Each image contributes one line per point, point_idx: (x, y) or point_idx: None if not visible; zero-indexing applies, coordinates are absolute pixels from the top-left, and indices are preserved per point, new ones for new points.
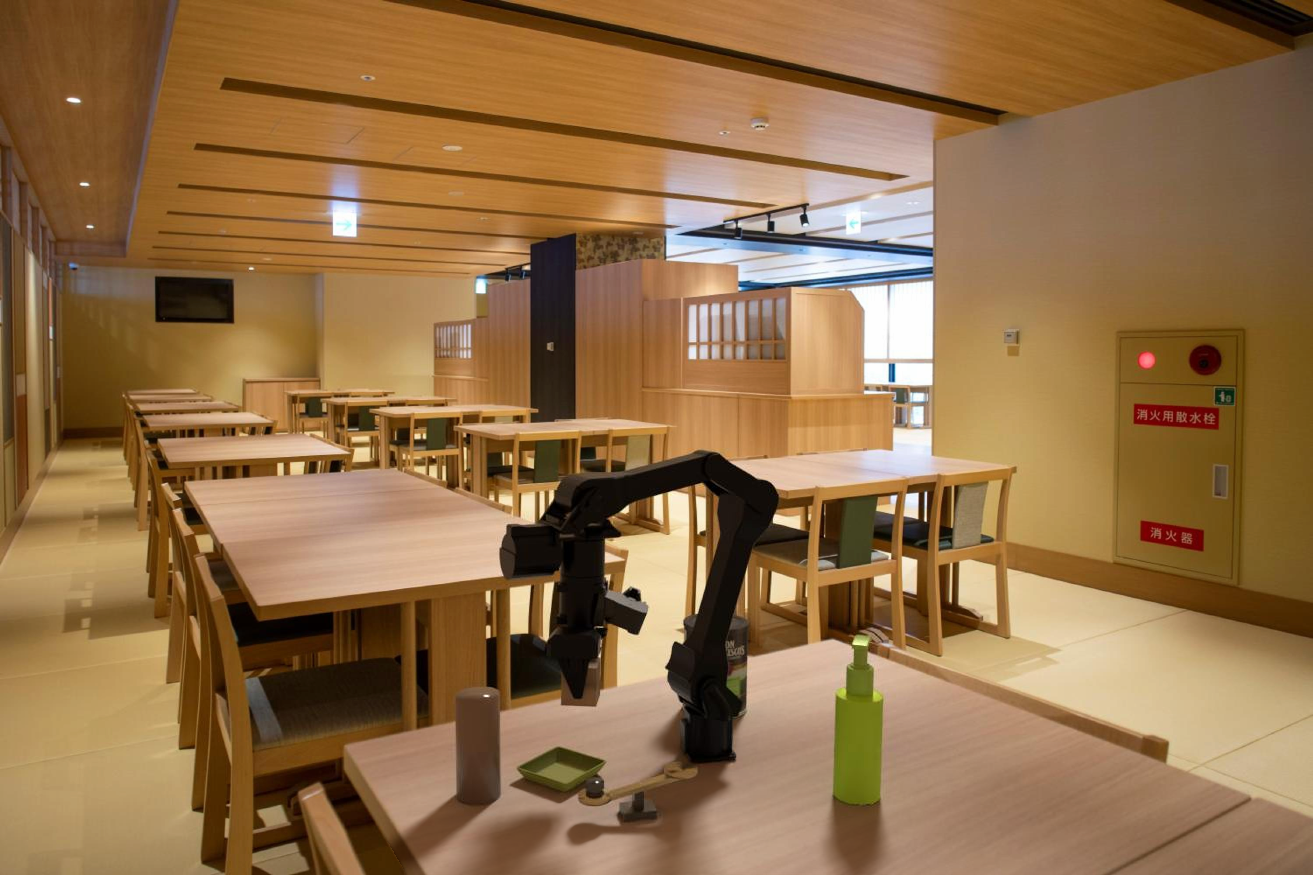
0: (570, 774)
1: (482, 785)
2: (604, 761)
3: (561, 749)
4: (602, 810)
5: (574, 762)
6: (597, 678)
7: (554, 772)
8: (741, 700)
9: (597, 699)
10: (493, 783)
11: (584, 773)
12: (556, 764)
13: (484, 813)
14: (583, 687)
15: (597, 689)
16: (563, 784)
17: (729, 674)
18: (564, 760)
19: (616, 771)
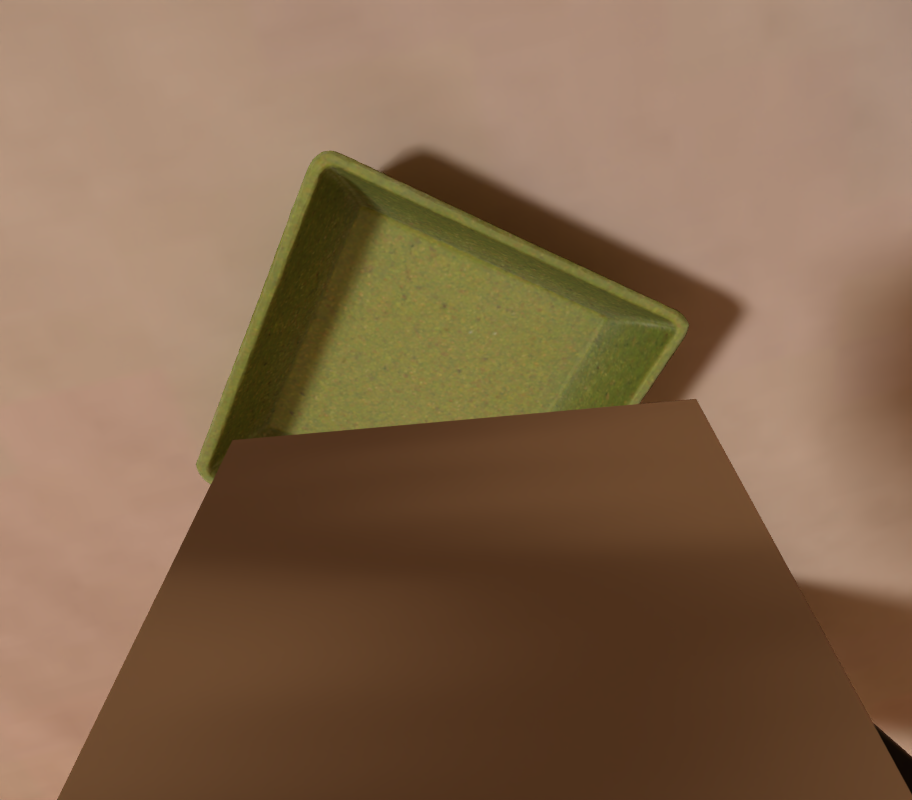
0: (417, 332)
1: None
2: (336, 164)
3: (220, 449)
4: (841, 47)
5: (287, 346)
6: (687, 685)
7: (409, 414)
8: None
9: (554, 435)
10: None
11: (539, 251)
12: (312, 427)
13: (840, 573)
14: (896, 749)
15: (598, 527)
16: (683, 334)
17: None
18: (271, 401)
19: (296, 73)
